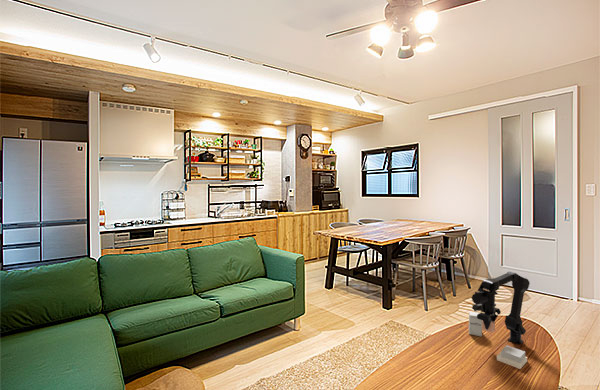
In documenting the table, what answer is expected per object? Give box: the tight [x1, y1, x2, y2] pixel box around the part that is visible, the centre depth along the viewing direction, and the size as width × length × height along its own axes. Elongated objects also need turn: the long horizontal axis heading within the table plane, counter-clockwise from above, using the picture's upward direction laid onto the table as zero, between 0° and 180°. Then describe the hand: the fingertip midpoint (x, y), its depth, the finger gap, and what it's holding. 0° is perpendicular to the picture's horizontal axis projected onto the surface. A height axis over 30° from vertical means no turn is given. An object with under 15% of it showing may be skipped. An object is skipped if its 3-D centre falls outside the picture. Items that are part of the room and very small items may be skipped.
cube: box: [482, 320, 496, 334], centre depth 185 cm, size 5×5×5 cm
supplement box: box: [468, 310, 483, 337], centre depth 203 cm, size 7×7×13 cm
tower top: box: [500, 345, 526, 363], centre depth 171 cm, size 9×9×3 cm
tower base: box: [496, 351, 528, 370], centre depth 172 cm, size 11×11×3 cm
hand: (488, 328), depth 186 cm, fingers closed on cube, 5 cm apart
